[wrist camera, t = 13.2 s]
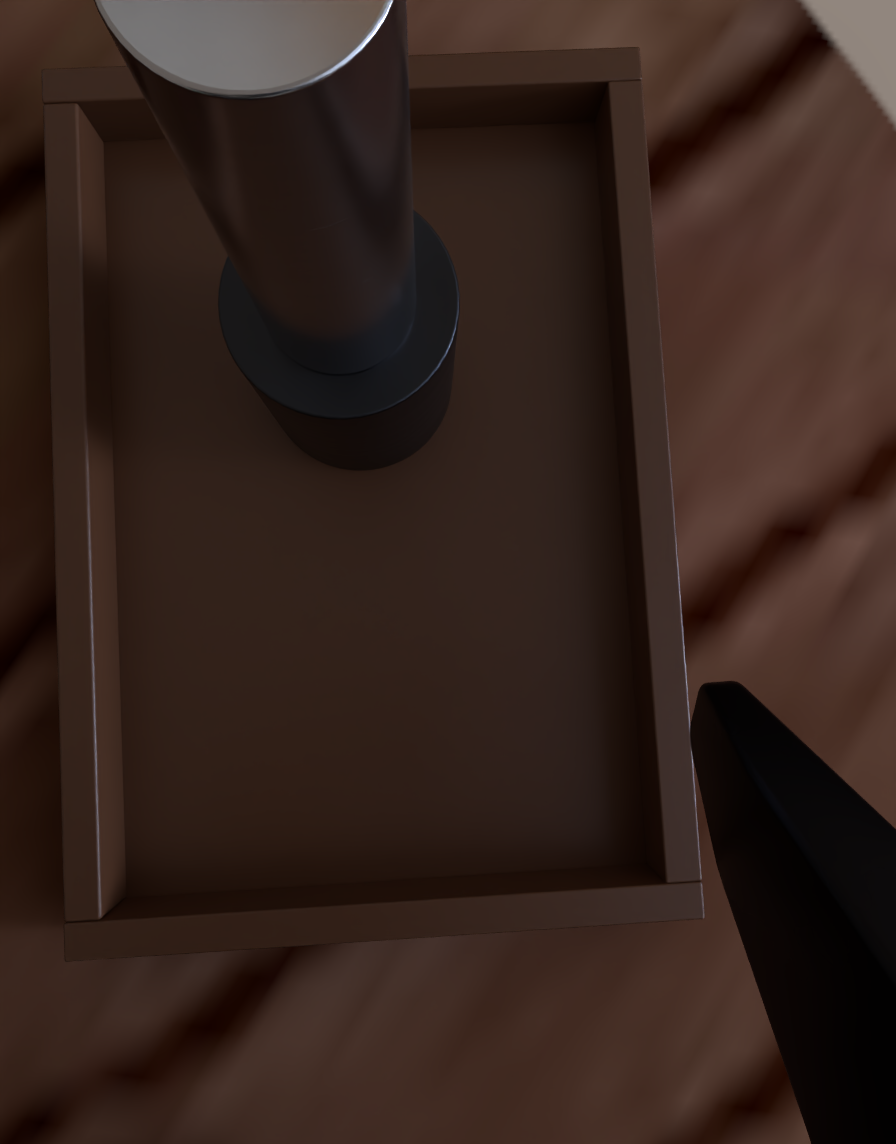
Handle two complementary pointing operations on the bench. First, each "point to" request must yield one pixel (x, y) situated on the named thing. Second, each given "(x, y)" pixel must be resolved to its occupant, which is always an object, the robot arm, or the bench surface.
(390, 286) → the dark cylinder
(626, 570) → the tray
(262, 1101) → the bench surface
